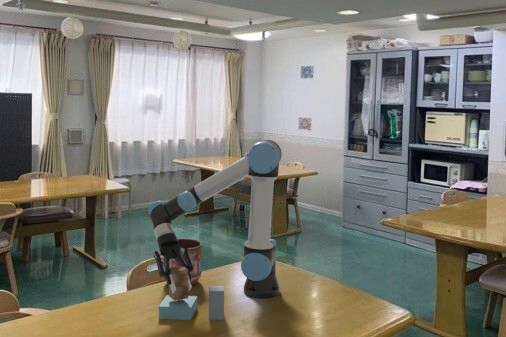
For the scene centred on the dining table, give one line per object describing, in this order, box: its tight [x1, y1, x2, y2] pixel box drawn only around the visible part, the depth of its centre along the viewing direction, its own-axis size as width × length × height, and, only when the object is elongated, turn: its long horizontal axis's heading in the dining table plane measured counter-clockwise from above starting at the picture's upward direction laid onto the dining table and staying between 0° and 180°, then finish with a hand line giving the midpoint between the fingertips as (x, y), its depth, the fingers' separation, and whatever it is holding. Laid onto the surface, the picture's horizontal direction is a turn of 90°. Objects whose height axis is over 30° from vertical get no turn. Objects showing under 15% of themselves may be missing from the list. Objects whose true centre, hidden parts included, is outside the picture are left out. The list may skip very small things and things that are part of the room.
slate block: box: [208, 285, 225, 321], centre depth 197 cm, size 6×6×11 cm
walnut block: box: [168, 266, 189, 301], centre depth 200 cm, size 6×6×11 cm
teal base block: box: [158, 294, 198, 321], centre depth 201 cm, size 12×12×5 cm
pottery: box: [163, 238, 203, 287], centre depth 234 cm, size 18×18×18 cm
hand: (182, 290), depth 197 cm, fingers closed on walnut block, 5 cm apart
